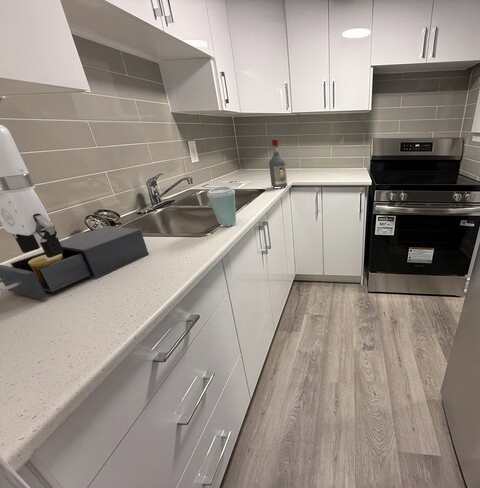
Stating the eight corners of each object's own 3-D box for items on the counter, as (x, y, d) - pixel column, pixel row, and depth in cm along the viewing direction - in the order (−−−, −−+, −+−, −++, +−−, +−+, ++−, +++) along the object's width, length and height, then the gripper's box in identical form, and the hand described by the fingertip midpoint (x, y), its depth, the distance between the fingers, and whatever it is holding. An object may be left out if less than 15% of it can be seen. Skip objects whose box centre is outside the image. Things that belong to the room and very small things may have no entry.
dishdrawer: (97, 278, 71) (84, 250, 67) (62, 271, 75) (48, 244, 72) (149, 254, 84) (140, 229, 81) (117, 249, 89) (107, 225, 85)
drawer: (12, 312, 56) (-5, 286, 54) (-21, 302, 60) (-39, 277, 58) (106, 270, 73) (97, 248, 70) (75, 264, 77) (65, 243, 75)
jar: (33, 286, 64) (22, 266, 62) (45, 275, 69) (34, 256, 67) (66, 279, 67) (56, 260, 64) (74, 269, 72) (65, 250, 70)
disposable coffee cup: (234, 229, 104) (227, 191, 98) (208, 229, 105) (200, 191, 99) (244, 220, 113) (238, 185, 107) (220, 220, 114) (213, 186, 108)
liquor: (270, 187, 179) (264, 140, 167) (281, 185, 184) (277, 139, 172) (277, 189, 172) (272, 140, 160) (288, 187, 178) (284, 139, 166)
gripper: (-37, 185, 58) (3, 255, 65) (8, 189, 53) (46, 264, 60) (9, 179, 64) (41, 243, 71) (53, 182, 59) (83, 250, 66)
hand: (43, 252), depth 65 cm, fingers open, 9 cm apart
